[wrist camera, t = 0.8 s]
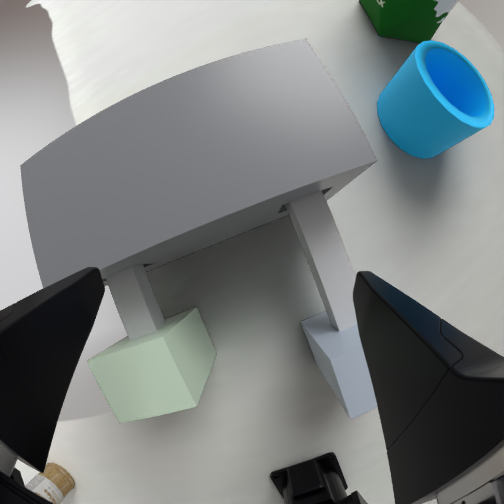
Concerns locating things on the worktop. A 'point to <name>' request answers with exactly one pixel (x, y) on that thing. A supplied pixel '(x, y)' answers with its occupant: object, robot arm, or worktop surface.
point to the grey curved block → (191, 163)
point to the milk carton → (407, 17)
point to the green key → (152, 354)
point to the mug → (434, 101)
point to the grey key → (333, 306)
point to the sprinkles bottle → (52, 483)
